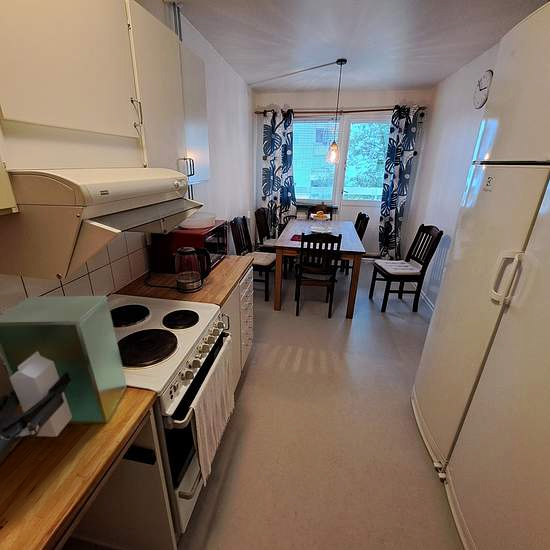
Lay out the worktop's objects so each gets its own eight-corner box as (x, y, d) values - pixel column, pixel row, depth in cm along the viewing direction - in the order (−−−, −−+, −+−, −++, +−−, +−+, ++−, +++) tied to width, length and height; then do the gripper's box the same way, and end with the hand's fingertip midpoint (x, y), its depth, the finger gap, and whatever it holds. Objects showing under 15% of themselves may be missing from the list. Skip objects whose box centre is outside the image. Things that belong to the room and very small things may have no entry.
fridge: (107, 422, 82) (78, 320, 70) (30, 425, 81) (-13, 322, 68) (127, 386, 95) (106, 295, 82) (61, 389, 94) (30, 296, 81)
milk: (33, 436, 72) (3, 367, 64) (51, 416, 78) (25, 350, 70) (57, 436, 72) (30, 367, 64) (73, 416, 78) (50, 350, 70)
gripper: (-72, 478, 55) (20, 388, 76) (33, 473, 56) (95, 386, 77) (-90, 451, 52) (11, 366, 73) (21, 446, 53) (88, 364, 75)
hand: (54, 376), depth 75 cm, fingers closed on milk, 6 cm apart
